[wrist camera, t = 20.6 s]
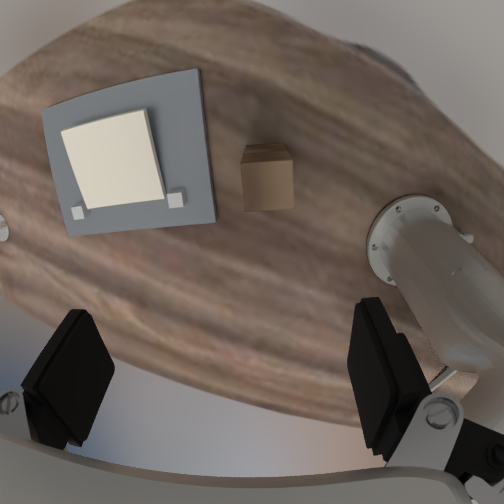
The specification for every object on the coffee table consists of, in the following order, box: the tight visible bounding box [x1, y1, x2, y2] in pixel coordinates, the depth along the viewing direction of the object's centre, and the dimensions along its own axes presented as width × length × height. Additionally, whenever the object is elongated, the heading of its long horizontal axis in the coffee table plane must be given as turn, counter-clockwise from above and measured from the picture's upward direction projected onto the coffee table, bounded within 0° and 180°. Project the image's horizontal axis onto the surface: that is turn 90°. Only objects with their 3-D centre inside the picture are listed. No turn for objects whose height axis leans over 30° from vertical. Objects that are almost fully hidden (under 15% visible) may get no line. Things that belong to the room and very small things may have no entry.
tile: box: [61, 108, 166, 209], centre depth 30 cm, size 10×10×1 cm
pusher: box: [241, 143, 295, 212], centre depth 29 cm, size 4×4×10 cm
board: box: [41, 68, 217, 237], centre depth 32 cm, size 20×17×3 cm
